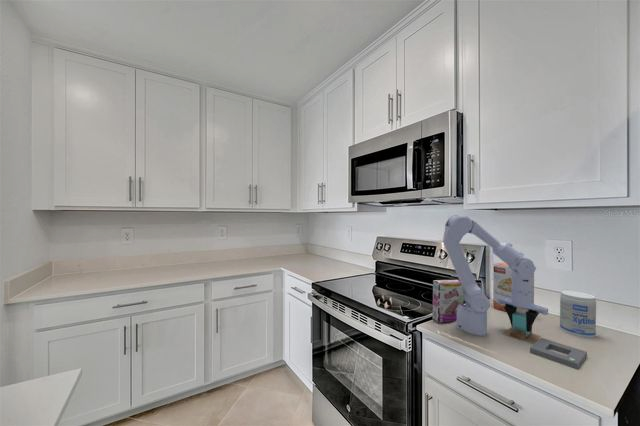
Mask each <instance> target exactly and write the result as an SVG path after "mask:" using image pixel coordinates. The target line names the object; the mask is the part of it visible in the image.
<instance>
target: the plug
mask: <svg viewBox="0 0 640 426" xmlns="http://www.w3.org/2000/svg"><path fill="white" fill-rule="evenodd" d="M512 328H515V329H518V330H522V331H525V332H526V337H527V336H529V335H530V332H527V318H526V314H525V313H521V312H515V313H513V316H512ZM526 337H525V338H526Z"/></svg>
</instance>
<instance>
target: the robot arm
mask: <svg viewBox="0 0 640 426" xmlns="http://www.w3.org/2000/svg"><path fill="white" fill-rule="evenodd" d="M467 234H471V235H474V236H475V237H477V238H478V239H479V240H481V241H482V242H483V243H485V244H486V245H488V246H489V247H491V248H492V254H493V255H495V256H496V257H497V258H499V259H500V260H501V261H502V262H503V263H505V264H507V265H508V266H509V268H510V269H512V299H507V298H501V297H499V298H497V303H499V304H505V307H504V309H505V311H506V312H505V311H504V312H505V313H506V314H507V316H508V319H509V321H510V322H509V323H510V326H511V327H512V316H513V313H515V312H516V310H517V308H521V309H525V310H529V311H527V312H526V318H527V332H530V331H531V329H532V330H533V324H534V323H535V320H536V318H537V317H538V315H539V314H541V315H545V316H548V315H549V308H547V307H544V306H541V305H538V304H535V303H534V304H532V274H533V273H534V274H535V272H536V270H537V267H536V266H535V264H534V262H533V261H532V260H531V259H530V258H526V257H524V255H525V254H524V253H523V252H519V251H518V250H516V249H515V248H514V247H513V246H514V244H512V243H510V242H506V241H499V240H498V239H497V238H496V237H494V236H493V235H492V234H491V233H490V232H489V231H488V230H486V229H485V228H484V227H483V226H481V225H480V224H479V223H477V221H475V220H472V219H471V217H469V216H467V215H457V214H456V215H455V214H454V215H451V216H450V217H449V218H448V219H447V221H446V222H445V224H444V232H443V238H442V243H443V245H444V247H445V249H446V252H447V254H448V256H449V259H450V261H451V263H452V266H453V268H454V270H455V273H456V275H457V278H458V280H459V281H460V282H461V284H462V290H463V299H464V306H460V307H459V308H458V310H457V320H456V329H458V330H461V331H465V332H466V333H469V334H470V335H473V336H479V337H480V336H481V337H483V336H486V335H488V310H489V309H490V307H491V303H490V300H489V298H488V297H487V296H485V294H484V293H483V291H482V289H481V288H480V286H479V284H478V283H477V282H476V278H475V277H474V275H473V272H472V270H471V267H470V265H469V262H468V261H467V259H466V256H465V253H464V252H463V250H462V247H461V244H460V242H461V241H462V240H463V237H464V236H465V235H467ZM511 327H510V328H511Z"/></svg>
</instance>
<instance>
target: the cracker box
mask: <svg viewBox="0 0 640 426" xmlns="http://www.w3.org/2000/svg"><path fill="white" fill-rule="evenodd" d="M492 274H493V284H492V285H493V288H492V289H493V294H492V295H493V298H492V299H493V300H492V301H493V302H492V304H493V305H492V306H493V309H496V310H499V311H502V312H505V313H507V312H506V311H505V309H504V307H505V304H499V303H497V298H499V297H501V298H507V299H512V269H510V268H509V266H508V265H507V264H506V263H505V262H496V263H493V273H492ZM532 304H535V272H534V273H533V274H532ZM527 311H529V310H525V309H521V308H517V310H516V312H521V313H525V314H526V312H527Z"/></svg>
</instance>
